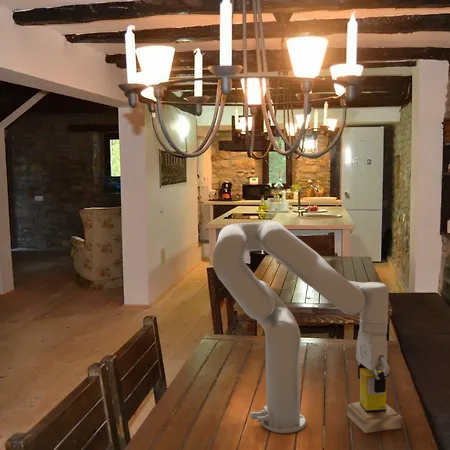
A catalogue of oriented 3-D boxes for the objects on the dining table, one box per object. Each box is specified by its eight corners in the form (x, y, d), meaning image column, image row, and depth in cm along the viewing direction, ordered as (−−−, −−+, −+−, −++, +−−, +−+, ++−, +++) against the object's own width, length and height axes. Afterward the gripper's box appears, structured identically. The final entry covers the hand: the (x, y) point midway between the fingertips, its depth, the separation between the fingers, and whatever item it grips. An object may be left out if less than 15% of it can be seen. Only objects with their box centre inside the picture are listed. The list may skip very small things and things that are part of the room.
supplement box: (379, 402, 163) (379, 366, 162) (386, 411, 157) (387, 374, 156) (359, 404, 162) (359, 367, 161) (366, 413, 157) (366, 375, 155)
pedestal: (364, 433, 153) (364, 419, 153) (347, 415, 164) (347, 402, 164) (401, 427, 156) (401, 414, 155) (381, 411, 167) (381, 398, 166)
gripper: (347, 319, 164) (345, 375, 166) (376, 336, 148) (374, 399, 150) (370, 317, 166) (368, 373, 168) (401, 335, 149) (399, 396, 151)
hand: (371, 385), depth 159 cm, fingers open, 9 cm apart
